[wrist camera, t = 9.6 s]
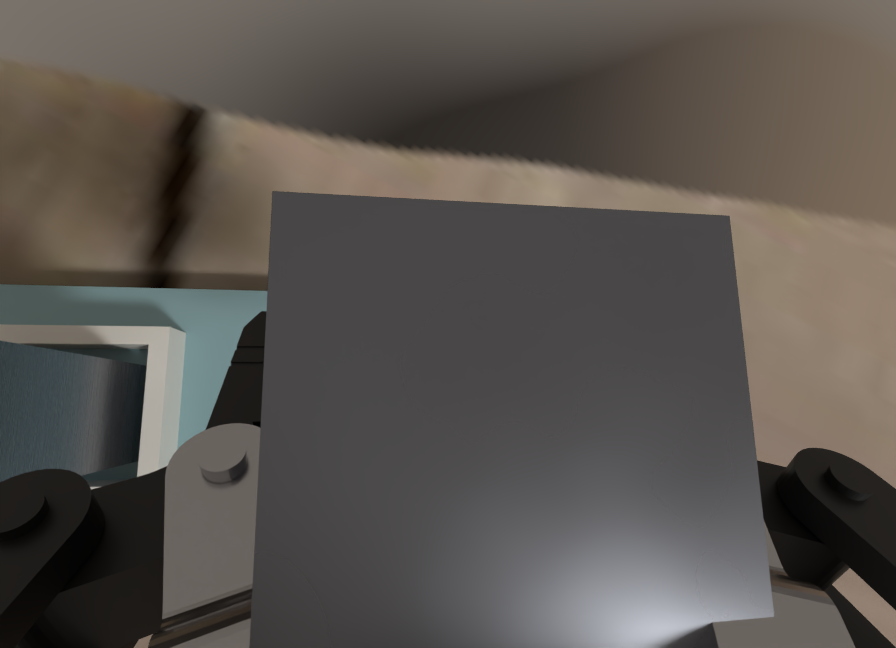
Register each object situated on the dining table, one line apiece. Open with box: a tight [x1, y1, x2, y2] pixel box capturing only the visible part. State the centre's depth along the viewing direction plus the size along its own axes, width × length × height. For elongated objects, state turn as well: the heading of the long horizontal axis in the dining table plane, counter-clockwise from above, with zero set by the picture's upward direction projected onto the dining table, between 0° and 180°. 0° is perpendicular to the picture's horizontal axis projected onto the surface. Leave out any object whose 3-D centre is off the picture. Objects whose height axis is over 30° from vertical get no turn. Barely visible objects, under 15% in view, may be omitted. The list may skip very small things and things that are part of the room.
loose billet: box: [249, 191, 774, 648], centre depth 9 cm, size 4×5×10 cm
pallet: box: [0, 284, 267, 489], centre depth 23 cm, size 26×12×4 cm, turn 91°
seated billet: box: [0, 341, 147, 482], centre depth 18 cm, size 4×5×10 cm
